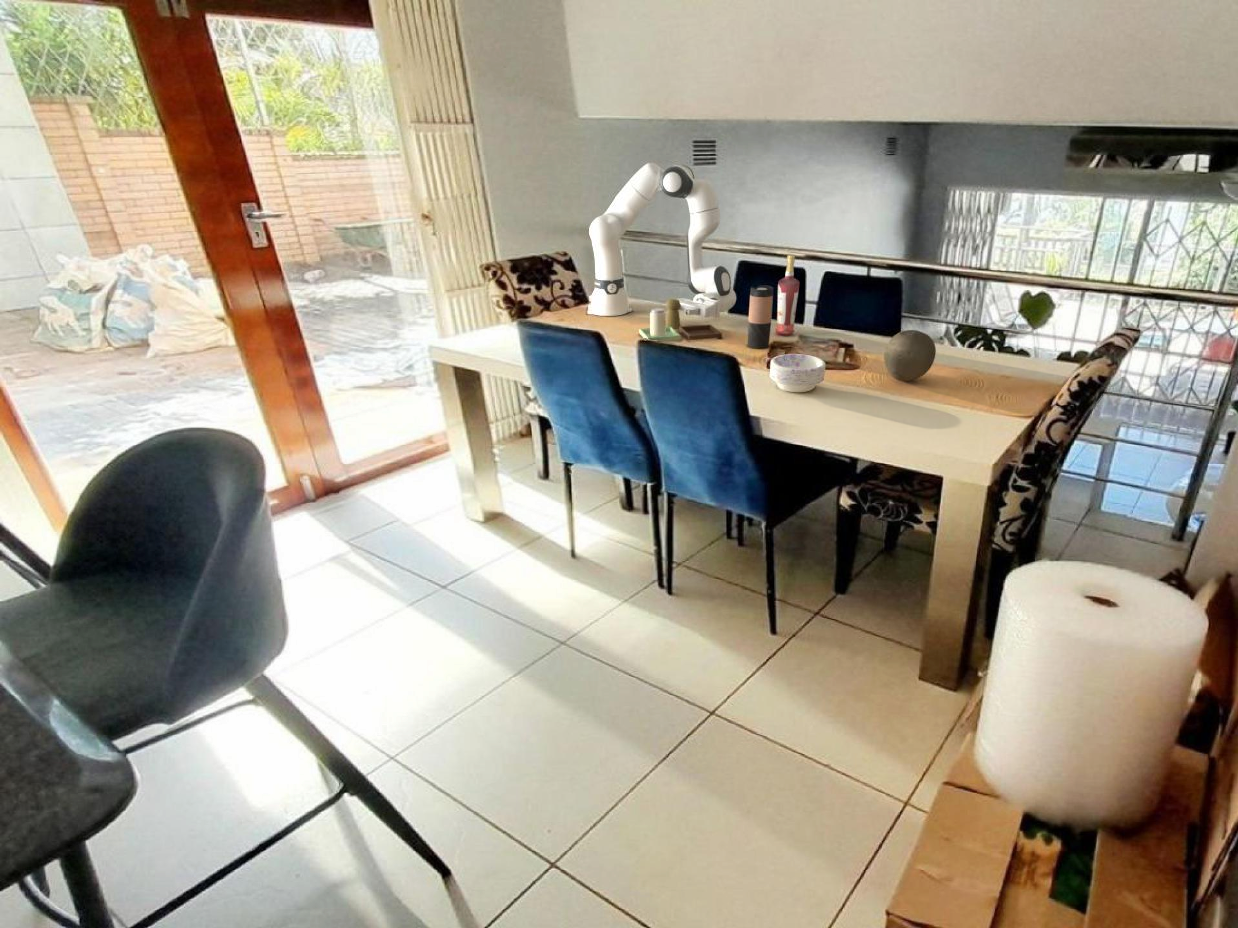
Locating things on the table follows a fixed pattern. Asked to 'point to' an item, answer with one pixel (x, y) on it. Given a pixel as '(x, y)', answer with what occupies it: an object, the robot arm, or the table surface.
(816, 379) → the paper bowls
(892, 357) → the cantaloupe
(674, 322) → the olive pawn figurine
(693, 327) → the dark tray
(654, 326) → the salt shaker
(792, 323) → the liquor
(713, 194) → the robot arm
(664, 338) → the pale tray
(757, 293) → the travel mug
